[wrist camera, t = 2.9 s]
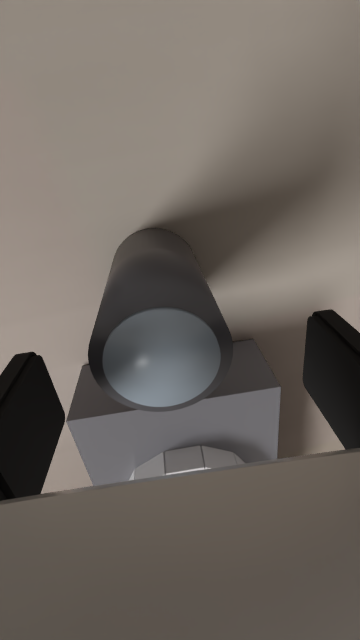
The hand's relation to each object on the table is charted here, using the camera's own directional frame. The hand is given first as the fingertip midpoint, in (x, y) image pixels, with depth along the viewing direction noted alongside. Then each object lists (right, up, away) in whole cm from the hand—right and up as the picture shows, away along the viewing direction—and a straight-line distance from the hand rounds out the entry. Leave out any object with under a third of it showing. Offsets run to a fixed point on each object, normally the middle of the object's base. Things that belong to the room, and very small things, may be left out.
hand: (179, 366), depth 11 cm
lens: (-1, +5, +8) cm, 9 cm away
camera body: (0, -7, +14) cm, 16 cm away
